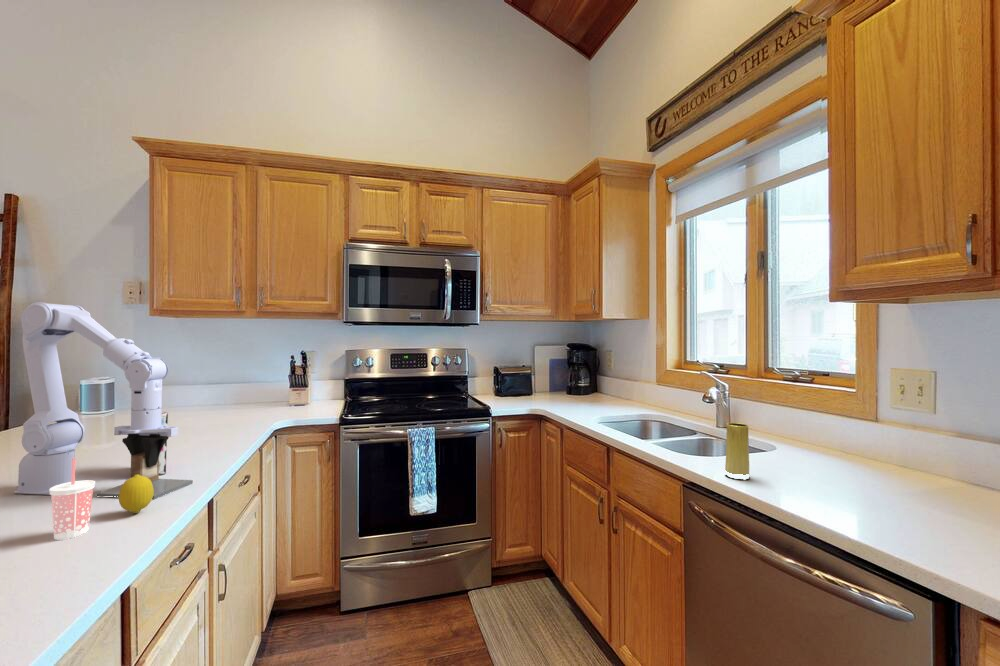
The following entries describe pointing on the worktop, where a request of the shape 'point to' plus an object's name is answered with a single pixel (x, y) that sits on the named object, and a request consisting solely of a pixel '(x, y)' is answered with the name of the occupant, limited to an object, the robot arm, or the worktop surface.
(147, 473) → the walnut slab
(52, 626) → the worktop surface
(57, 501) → the beverage cup
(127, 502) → the lemon
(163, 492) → the grey flat rectangular plate
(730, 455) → the vase
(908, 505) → the worktop surface
